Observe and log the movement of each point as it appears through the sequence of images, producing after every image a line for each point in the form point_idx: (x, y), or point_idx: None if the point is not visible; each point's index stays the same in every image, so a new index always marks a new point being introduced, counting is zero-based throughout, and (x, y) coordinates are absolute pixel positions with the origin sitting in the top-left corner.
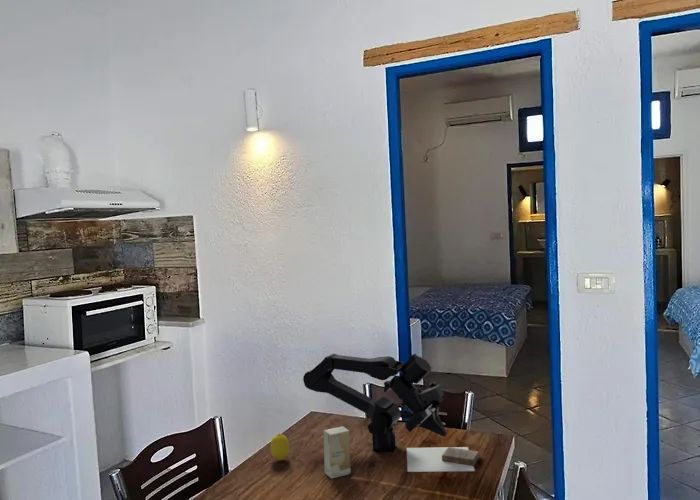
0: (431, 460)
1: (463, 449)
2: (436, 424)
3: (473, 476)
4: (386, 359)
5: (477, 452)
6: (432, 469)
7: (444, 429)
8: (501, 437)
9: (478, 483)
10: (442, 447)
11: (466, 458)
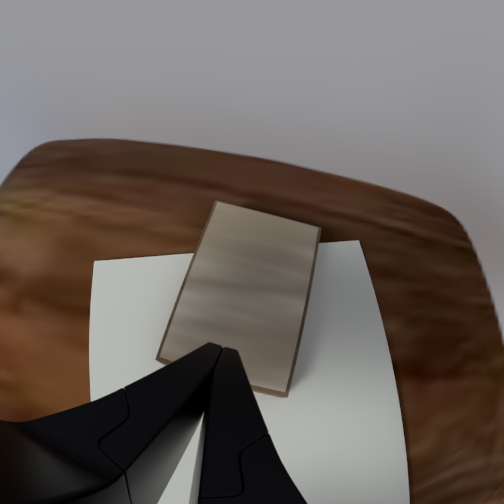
0: (279, 454)
1: (193, 269)
2: (279, 467)
3: (381, 252)
4: None
5: (231, 204)
6: (384, 427)
7: (198, 360)
8: (37, 158)
9: (421, 238)
10: (91, 390)
11: (314, 257)
